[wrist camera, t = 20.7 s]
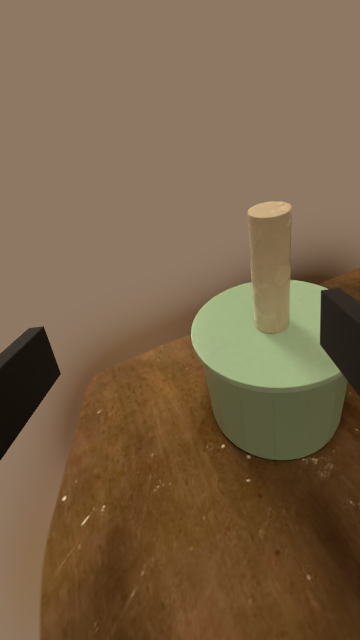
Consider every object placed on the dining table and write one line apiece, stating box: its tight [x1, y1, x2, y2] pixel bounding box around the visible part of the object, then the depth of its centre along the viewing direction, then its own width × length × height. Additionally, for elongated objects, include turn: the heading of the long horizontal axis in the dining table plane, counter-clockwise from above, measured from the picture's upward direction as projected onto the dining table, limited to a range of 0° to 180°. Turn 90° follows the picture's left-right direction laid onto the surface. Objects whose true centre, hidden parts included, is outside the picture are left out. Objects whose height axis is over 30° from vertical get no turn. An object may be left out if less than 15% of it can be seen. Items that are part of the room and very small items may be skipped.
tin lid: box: [191, 201, 343, 393], centre depth 22 cm, size 13×13×10 cm
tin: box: [203, 365, 348, 460], centre depth 28 cm, size 12×12×10 cm
